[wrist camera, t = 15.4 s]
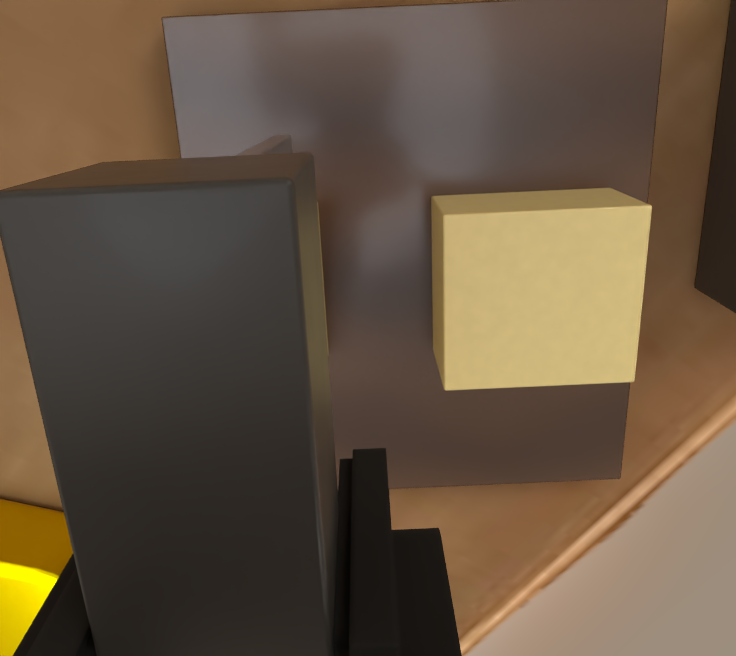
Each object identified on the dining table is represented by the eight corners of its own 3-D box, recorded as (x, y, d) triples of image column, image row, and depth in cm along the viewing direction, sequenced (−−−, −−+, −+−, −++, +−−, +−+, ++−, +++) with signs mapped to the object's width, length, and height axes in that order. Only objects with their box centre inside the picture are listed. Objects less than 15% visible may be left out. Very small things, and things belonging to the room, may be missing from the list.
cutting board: (172, 20, 25) (161, 16, 24) (651, -3, 25) (668, -8, 24) (232, 478, 32) (226, 496, 31) (609, 461, 32) (620, 479, 31)
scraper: (226, 128, 15) (-13, 192, 5) (336, 122, 15) (293, 177, 5) (277, 593, 19) (195, 1093, 9) (364, 589, 19) (368, 1086, 9)
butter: (431, 195, 26) (442, 214, 22) (611, 187, 26) (653, 204, 22) (432, 350, 28) (443, 391, 25) (598, 342, 28) (635, 382, 25)
